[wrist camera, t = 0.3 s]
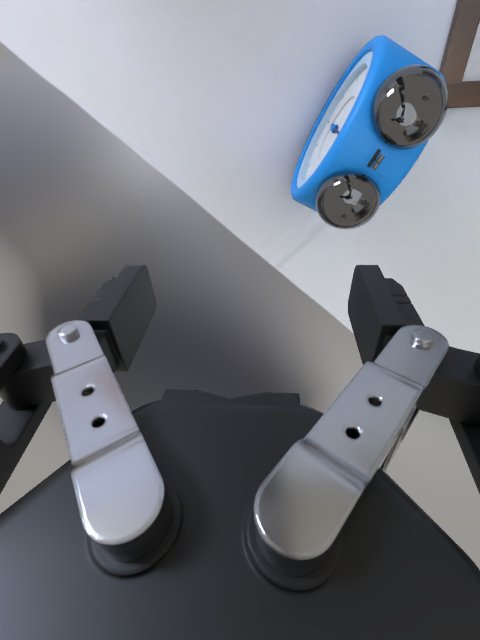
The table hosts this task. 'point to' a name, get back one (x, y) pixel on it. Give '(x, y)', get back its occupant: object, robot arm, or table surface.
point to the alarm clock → (369, 134)
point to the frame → (461, 56)
